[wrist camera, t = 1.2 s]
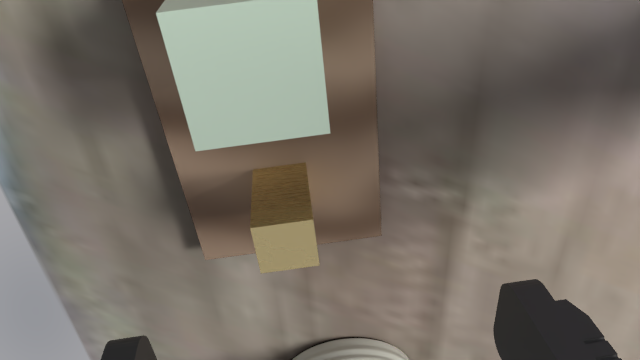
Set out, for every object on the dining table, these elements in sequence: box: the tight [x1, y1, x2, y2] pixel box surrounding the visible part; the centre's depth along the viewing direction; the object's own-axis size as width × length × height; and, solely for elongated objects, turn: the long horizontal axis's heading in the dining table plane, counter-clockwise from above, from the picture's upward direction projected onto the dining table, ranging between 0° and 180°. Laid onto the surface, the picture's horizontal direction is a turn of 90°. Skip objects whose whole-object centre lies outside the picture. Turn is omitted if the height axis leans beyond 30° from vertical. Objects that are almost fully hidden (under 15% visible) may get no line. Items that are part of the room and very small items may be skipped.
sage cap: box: [156, 0, 330, 151], centre depth 21 cm, size 6×6×7 cm
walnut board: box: [122, 0, 381, 260], centre depth 27 cm, size 20×12×2 cm, turn 6°
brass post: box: [250, 162, 319, 273], centre depth 27 cm, size 3×3×6 cm
